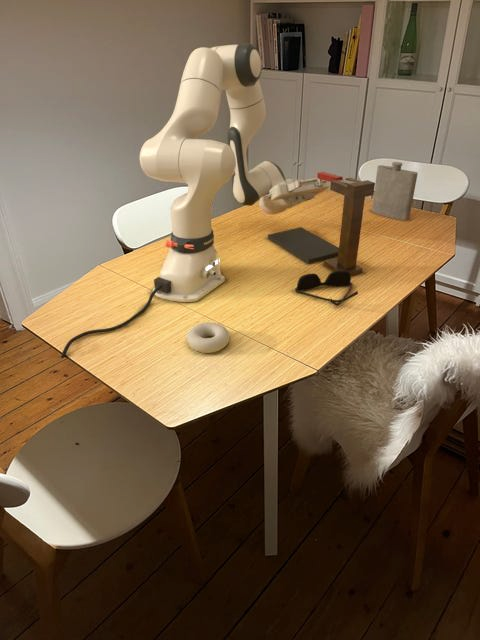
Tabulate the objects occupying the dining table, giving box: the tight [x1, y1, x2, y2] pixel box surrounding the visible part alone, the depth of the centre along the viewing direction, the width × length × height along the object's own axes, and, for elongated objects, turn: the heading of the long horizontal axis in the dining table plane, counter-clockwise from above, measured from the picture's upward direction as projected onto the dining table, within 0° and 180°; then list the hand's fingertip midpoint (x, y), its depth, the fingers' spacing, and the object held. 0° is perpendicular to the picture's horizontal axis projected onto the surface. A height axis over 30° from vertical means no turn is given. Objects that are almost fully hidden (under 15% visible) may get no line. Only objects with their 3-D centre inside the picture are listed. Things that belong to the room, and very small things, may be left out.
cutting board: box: [267, 226, 339, 265], centre depth 157 cm, size 24×14×2 cm, turn 29°
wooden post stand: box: [322, 177, 376, 277], centre depth 135 cm, size 10×7×27 cm
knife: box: [316, 171, 355, 184], centre depth 133 cm, size 18×3×2 cm, turn 29°
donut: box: [186, 321, 230, 354], centre depth 109 cm, size 10×4×10 cm
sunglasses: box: [294, 271, 359, 307], centre depth 126 cm, size 17×14×5 cm
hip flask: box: [371, 161, 419, 222], centre depth 176 cm, size 16×4×20 cm, turn 44°
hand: (312, 181), depth 144 cm, fingers open, 8 cm apart
